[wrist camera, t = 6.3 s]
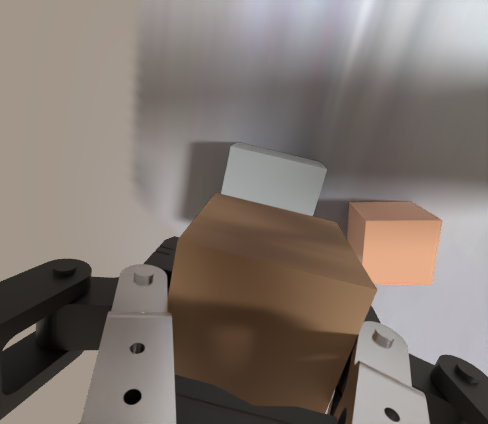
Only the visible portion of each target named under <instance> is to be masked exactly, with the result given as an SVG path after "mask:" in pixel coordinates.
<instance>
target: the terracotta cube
mask: <svg viewBox="0 0 488 424" xmlns="http://www.w3.org/2000/svg"><path fill="white" fill-rule="evenodd" d="M441 225H442V220H441V219H439V218H438V217H436V216H434V215H433V214H431V213H429V212H428V211H426V210H424V209H423V208H421V207H420V206H418V205H416V204H415V203H413V202H411V201H405V202H349V216H348V232H347V240H348V242H349V244H350V245H351V247H352V249H353V250H354V252H355V254H356V255H357V257H358V259H359V260H360V262H361V264H362V265H363V267H364V269H365V270H366V272H367V274H368V275H369V277H370V278H371V280H372V282H373V283H374V284H383V285H432V281H433V275H434V269H435V262H436V256H437V250H438V244H439V238H440V231H441Z"/></svg>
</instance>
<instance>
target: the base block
mask: <svg viewBox="0 0 488 424" xmlns="http://www.w3.org/2000/svg"><path fill="white" fill-rule="evenodd" d="M326 173H327V168H326V167H325V166H324V165H323V164H322V163H321V162H319V161H315V160H311V159H307V158H302V157H298V156H294V155H290V154H286V153H282V152H277V151H273V150H269V149H265V148H261V147H256V146H252V145H248V144H244V143H240V142H237V143H235V144H233V145H232V146H231V147H230V152H229V157H228V162H227V167H226V171H225V176H224V181H223V186H222V191H221V194H224V195H228V196H232V197H236V198H240V199H244V200H248V201H252V202H257V203H261V204H265V205H269V206H273V207H277V208H281V209H285V210H289V211H293V212H297V213H301V214H306V215H310V216H313V214H314V211H315V208H316V205H317V201H318V198H319V195H320V192H321V189H322V185H323V182H324V179H325V176H326Z"/></svg>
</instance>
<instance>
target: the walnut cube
mask: <svg viewBox="0 0 488 424" xmlns="http://www.w3.org/2000/svg"><path fill="white" fill-rule="evenodd" d="M376 292H377V288H376V287H375V285H374V283H373V282H372V280H371V278H370V277H369V275H368V274H367V272H366V270H365V269H364V267H363V265H362V264H361V262H360V260H359V259H358V257H357V255H356V254H355V252H354V250H353V249H352V247H351V245H350V244H349V242H348V240H347V239H346V237H345V235H344V234H343V232H342V231H341V229H340V227H339V226H338V224H337V222H334V221H330V220H326V219H322V218H318V217H314V216H310V215H306V214H301V213H297V212H293V211H289V210H285V209H281V208H277V207H273V206H269V205H265V204H261V203H257V202H252V201H248V200H244V199H240V198H236V197H232V196H228V195H224V194H220V193H215V194H214V195H213V196H212V198H211V199H210V200H209V201H208V203H207V204H206V205H205V206H204V208H203V209H202V210H201V211H200V213H199V214H198V215H197V216H196V218H195V219H194V220H193V221H192V223H191V224H190V225H189V226H188V228H187V229H186V230H185V231H184V233H183V234H182V235H181V236H180V238H179V239H178V241H177V247H176V253H175V259H174V265H173V270H172V276H171V282H170V288H169V294H168V312H171V313H172V329H173V354H174V374H175V375H179V376H182V377H186V378H190V379H194V380H198V381H202V382H205V383H209V384H213V385H215V386H217V387H219V388H221V389H223V390H225V391H227V392H229V393H231V394H233V395H234V396H236V397H238V398H240V399H242V400H244V401H246V402H248V403H250V404H252V405H255V406H297V407H301V408H305V409H309V410H312V411H316V412H320V413H324V414H325V412H326V410H327V407H328V405H329V403H330V400H331V398H332V395H333V393H334V391H335V388H336V386H337V384H338V381H339V379H340V377H341V374H342V372H343V370H344V367H345V365H346V362H347V360H348V358H349V355H350V353H351V351H352V348H353V346H354V344H355V341H356V339H357V336H358V334H359V332H360V329H361V327H362V325H363V322H364V320H365V318H366V315H367V313H368V311H369V308H370V306H371V303H372V301H373V299H374V296H375V294H376Z"/></svg>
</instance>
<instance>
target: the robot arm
mask: <svg viewBox="0 0 488 424" xmlns="http://www.w3.org/2000/svg"><path fill="white" fill-rule="evenodd" d="M178 239H179V237H175V236H174V237H172V238H169V239H166V240H165V241H164V242H163V243H162V244H161V245H160V247H158V248H157V249H156V251H155V252H154V253H153V254H152V255H151V256H150V257H149V258H148V259H147V261H146V262H145V263H144V264H141V265H133V266H130V267H127V268H125V269H124V270H122V272H121V273H120V276H119V277H117V278H104V277H91V272H92V270H91V267H90V265H89V264H87V263H85V262H84V261H80V260H76V259H58V260H53V261H50V262H47V263H44V264H42V265H39V266H37V267H35V268H32V269H30V270H28V271H25V272H22V273H20V274H18V275H15V276H13V277H10V278H8V279H6V280H3V281H1V282H0V420H1V419H2V418H3V417H5V416H6V415H7V414H8V413H9V412H11V411H12V410H13V409H14V408H16V407H17V406H18V405H19V404H20V403H22V402H23V401H24V400H26V399H27V398H28V397H29V396H31V395H32V394H33V393H34V392H35V391H37V390H38V389H39V388H40V387H41V386H43V385H44V384H45V383H47V382H48V381H49V380H50V379H51V378H53V377H54V376H55V375H56V374H58V373H59V372H60V371H61V370H62V369H64V368H65V367H66V366H67V365H69V364H70V363H71V362H72V361H74V360H75V359H76V358H77V357H78V356H80V355H81V354H82V352H83V351H84V350H99V351H98V355H97V359H96V363H95V367H94V371H93V375H92V379H91V383H90V387H89V391H88V395H87V399H86V403H85V407H84V411H83V415H82V419H81V423H79V424H488V377H487V376H486V375H485V374H484V373H483V372H482V371H480V370H479V369H478V368H476V367H475V366H473V365H472V364H470V363H468V362H466V361H465V360H463V359H460V358H458V357H455V356H451V355H441V356H440V357H439V359H438V360H437V362H436V364H435V365H433V364H430V363H428V362H426V361H424V360H422V359H420V358H417V357H415V356H413V355H411V354H409V353H408V346H407V344H406V342H405V340H404V339H403V338H402V337H401V336H400V335H399V334H398V333H396V332H395V331H394V330H392V329H391V328H389V327H387V326H385V325H383V324H381V323H380V321H379V319H378V317H377V315H376V313H375V311H374V309H373V307H371V306H370V308H369V311H368V313H367V315H366V318H365V320H364V322H363V325H362V327H361V329H360V332H359V334H358V336H357V339H356V341H355V344H354V346H353V348H352V351H351V353H350V355H349V358H348V360H347V362H346V365H345V367H344V370H343V372H342V374H341V377H340V379H339V381H338V384H337V386H336V388H335V391H334V393H333V395H332V398H331V400H330V404H329V409H328V413H327V414H324V413H320V412H316V411H312V410H309V409H305V408H301V407H297V406H255V405H252V404H250V403H248V402H246V401H244V400H242V399H240V398H238V397H236V396H234V395H233V394H231V393H229V392H227V391H225V390H223V389H221V388H219V387H217V386H215V385H213V384H209V383H205V382H202V381H198V380H194V379H190V378H186V377H182V376H179V375H175V374H174V354H173V329H172V313H171V312H168V294H169V288H170V282H171V276H172V270H173V265H174V259H175V253H176V247H177V241H178ZM35 323H36V331H35V332H33V333H32V334H30V335H28V336H27V337H25V338H23V339H22V340H20V341H18V342H17V343H15V344H14V345H12V346H10V347H9V348H7V349H5V350H4V351H2V350H3V348H4V347H5V345H6V344H7V343H8V341H9V340H10V339H11V338H13V337H14V336H15V335H16V334H18V333H20V332H22V331H23V330H25V329H27V328H28V327H30V326H32V325H33V324H35Z"/></svg>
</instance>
